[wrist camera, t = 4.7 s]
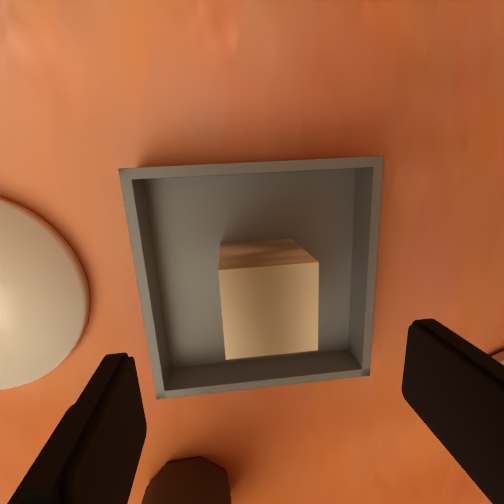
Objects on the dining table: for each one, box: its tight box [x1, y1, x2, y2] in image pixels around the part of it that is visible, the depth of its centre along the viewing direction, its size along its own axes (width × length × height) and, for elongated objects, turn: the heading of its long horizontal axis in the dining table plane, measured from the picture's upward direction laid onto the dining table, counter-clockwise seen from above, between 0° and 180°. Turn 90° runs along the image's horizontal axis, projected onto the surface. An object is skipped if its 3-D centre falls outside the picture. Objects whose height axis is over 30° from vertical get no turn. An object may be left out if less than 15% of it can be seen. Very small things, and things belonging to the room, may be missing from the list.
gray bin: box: [119, 156, 384, 399], centre depth 19 cm, size 15×15×3 cm
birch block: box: [218, 238, 319, 360], centre depth 17 cm, size 5×5×6 cm
